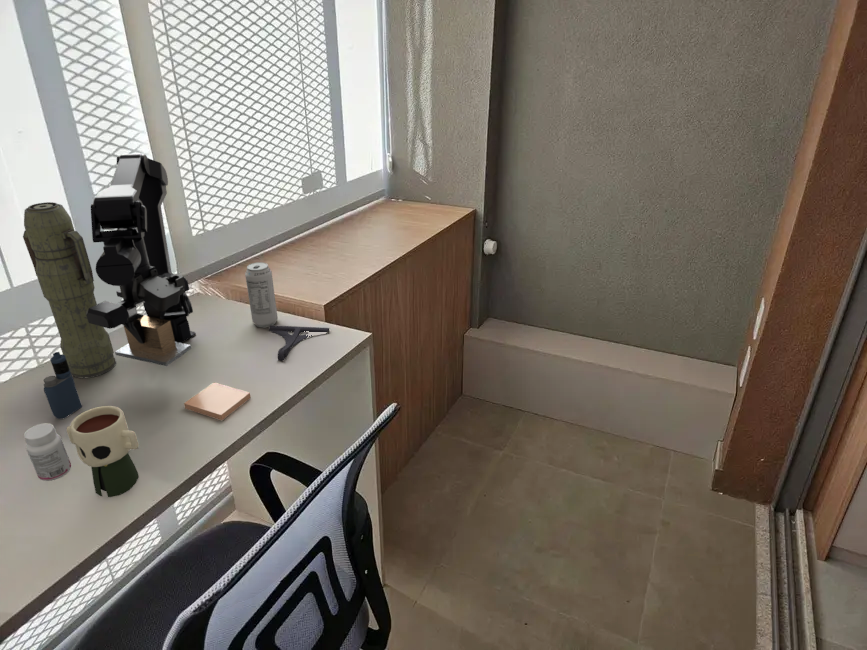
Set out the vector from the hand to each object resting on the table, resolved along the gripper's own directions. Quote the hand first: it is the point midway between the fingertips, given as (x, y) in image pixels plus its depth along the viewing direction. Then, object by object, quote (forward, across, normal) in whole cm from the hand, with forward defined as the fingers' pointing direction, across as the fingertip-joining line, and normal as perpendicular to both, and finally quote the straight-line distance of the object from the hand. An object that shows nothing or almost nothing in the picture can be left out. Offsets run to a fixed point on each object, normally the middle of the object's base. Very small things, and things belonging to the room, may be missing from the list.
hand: (150, 338), depth 110 cm
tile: (+10, 0, -10) cm, 15 cm away
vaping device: (+11, -14, +9) cm, 20 cm away
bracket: (+12, +24, -14) cm, 30 cm away
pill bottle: (+11, -26, -4) cm, 29 cm away
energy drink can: (+11, +31, -2) cm, 33 cm away
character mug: (+11, -24, -16) cm, 31 cm away
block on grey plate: (+3, 0, 0) cm, 3 cm away
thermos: (+11, -1, +19) cm, 22 cm away
